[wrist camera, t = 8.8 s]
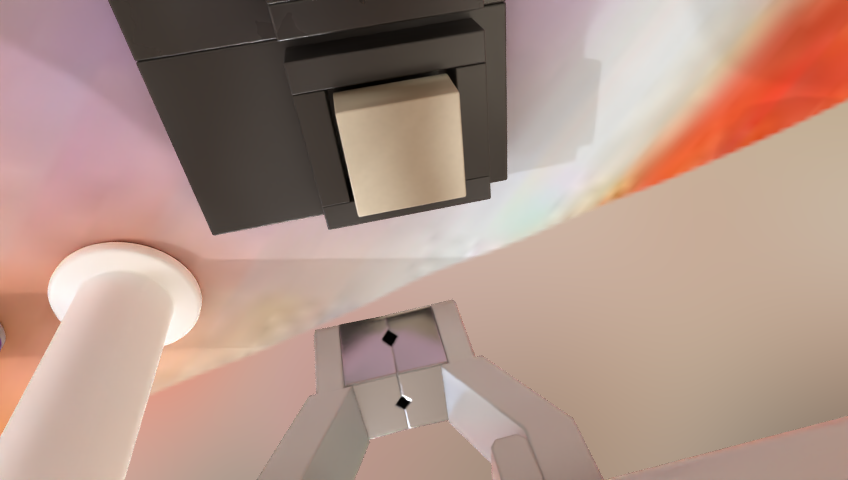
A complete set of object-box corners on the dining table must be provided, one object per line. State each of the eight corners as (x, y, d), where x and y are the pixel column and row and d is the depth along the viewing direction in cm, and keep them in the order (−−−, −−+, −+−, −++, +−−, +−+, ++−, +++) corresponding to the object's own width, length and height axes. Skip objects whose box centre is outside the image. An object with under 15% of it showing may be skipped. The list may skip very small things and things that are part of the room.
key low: (354, 191, 22) (358, 217, 20) (332, 92, 19) (334, 113, 18) (455, 172, 22) (466, 197, 21) (447, 72, 20) (459, 91, 18)
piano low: (219, 210, 25) (206, 260, 22) (149, 45, 21) (120, 79, 17) (494, 159, 27) (520, 199, 23) (490, -10, 22) (521, 13, 18)
